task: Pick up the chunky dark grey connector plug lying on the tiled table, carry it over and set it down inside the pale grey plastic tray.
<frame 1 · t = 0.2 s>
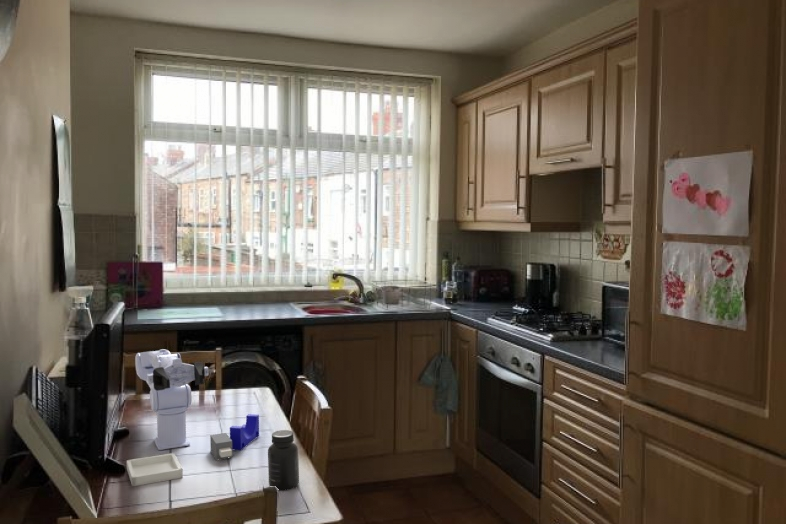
hand: (185, 381, 158), 21 cm above the table, tool horizontal, fingers open, 7 cm apart
tray: (154, 472, 156), on the table
blue u-shaped cradle block: (242, 443, 178), on the table
connector: (221, 454, 169), on the table
supplement bottle: (283, 486, 149), on the table
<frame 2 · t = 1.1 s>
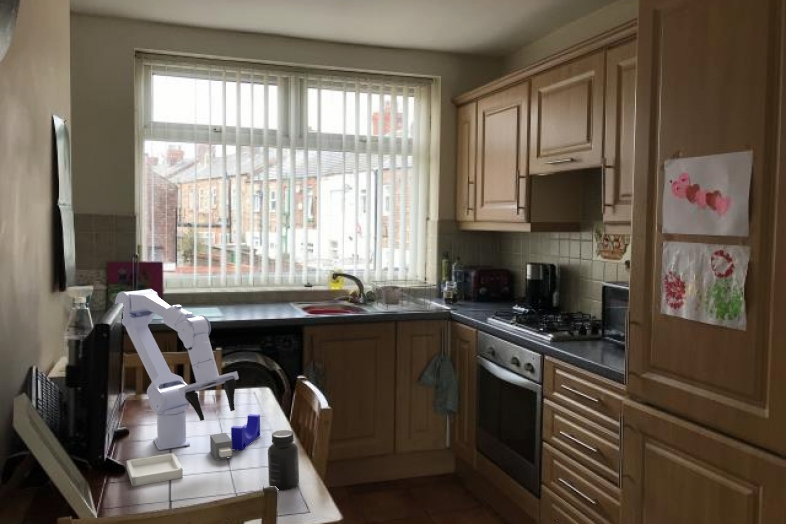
hand: (217, 415, 165), 11 cm above the table, tool tilted 20°, fingers open, 7 cm apart
nothing on the table moved.
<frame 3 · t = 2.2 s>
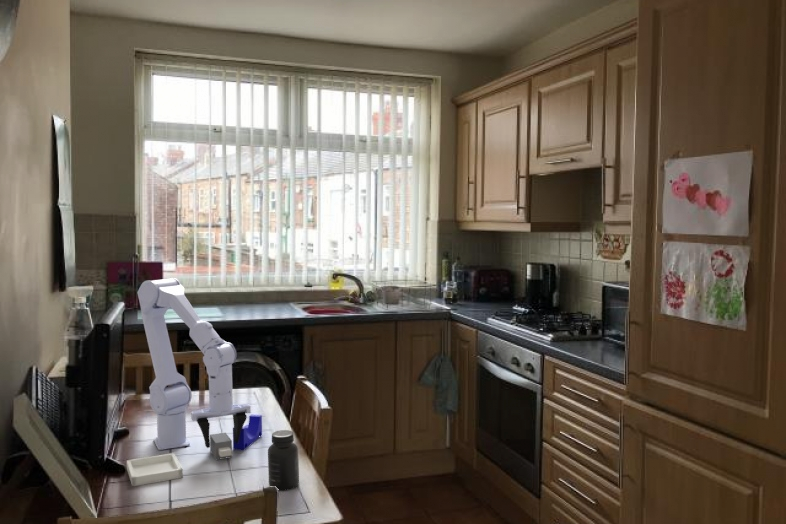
hand: (222, 444, 168), 3 cm above the table, tool pointing down, fingers open, 7 cm apart
blue u-shaped cradle block: (245, 443, 178), on the table, touching gripper
everything else where it was.
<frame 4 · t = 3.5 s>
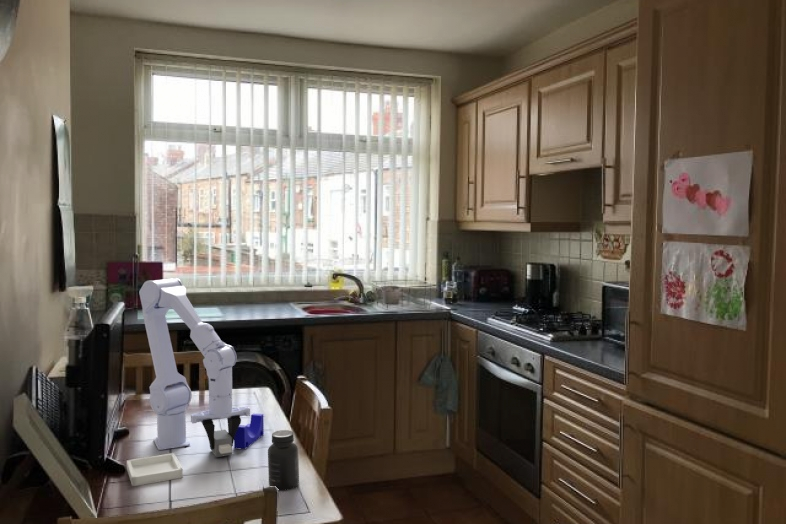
hand: (221, 446, 169), 2 cm above the table, tool pointing down, fingers closed on connector, 4 cm apart
blue u-shaped cradle block: (246, 442, 179), on the table
connector: (220, 451, 169), point 1 cm above the table, touching gripper
everything else where it was.
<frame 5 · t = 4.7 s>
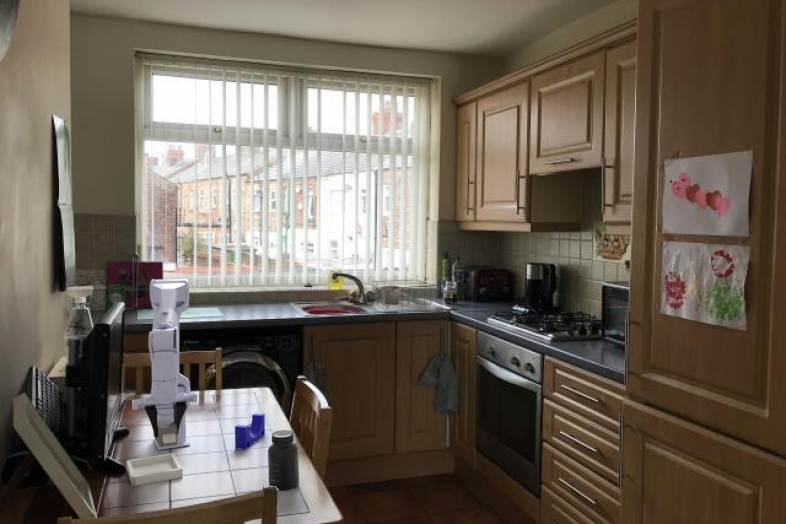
hand: (166, 434, 158), 8 cm above the table, tool pointing down, fingers closed on connector, 4 cm apart
connector: (166, 441, 159), point 7 cm above the table, touching gripper
everything else where it was.
when the fingers open (3 cm above the table, at t = 6.3 s): connector drops 1 cm, resting on tray.
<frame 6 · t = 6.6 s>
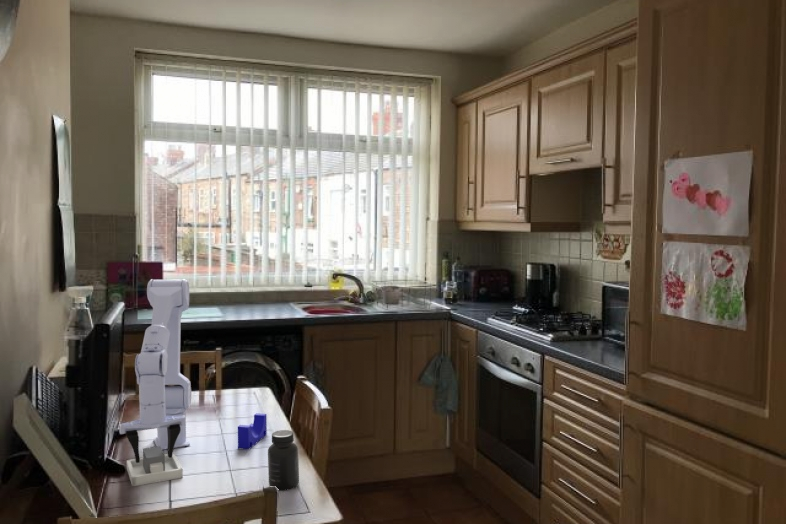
hand: (153, 458, 156), 3 cm above the table, tool pointing down, fingers open, 7 cm apart
connector: (154, 470, 157), resting on tray
everything else where it was.
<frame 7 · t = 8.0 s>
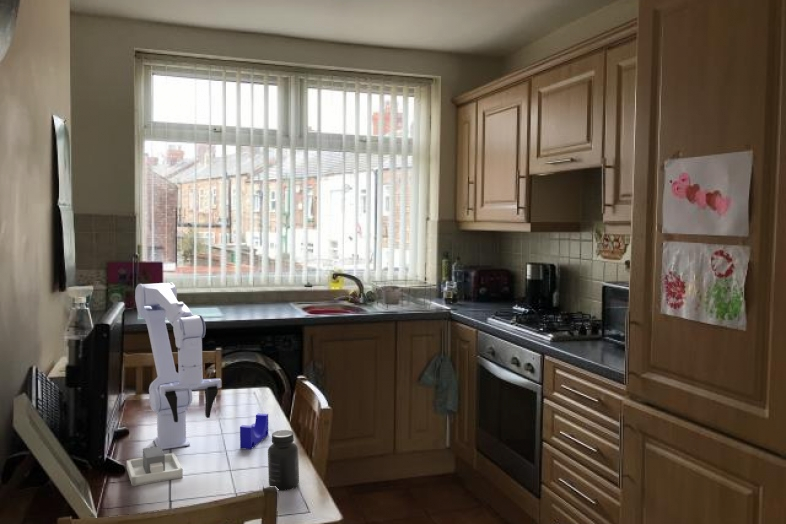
hand: (191, 419, 164), 10 cm above the table, tool pointing down, fingers open, 7 cm apart
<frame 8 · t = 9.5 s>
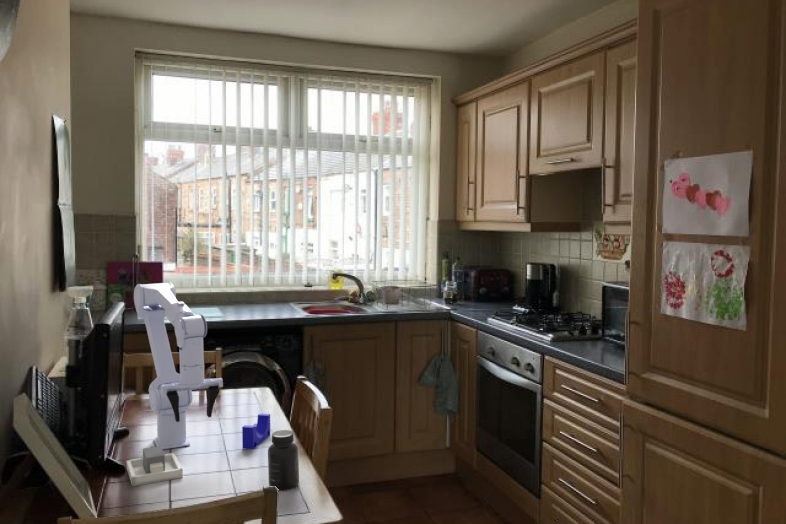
hand: (193, 418, 164), 10 cm above the table, tool pointing down, fingers open, 7 cm apart
at the end: connector inside the target area on the tray (0.5 cm from its centre), point 0.5 cm above the tray's base; the gripper is holding nothing; connector touching tray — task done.
